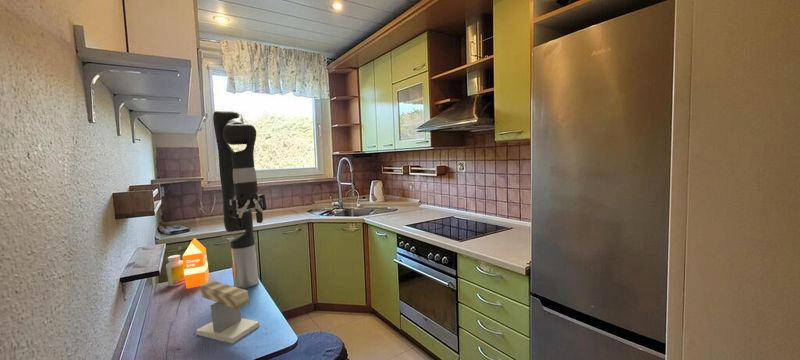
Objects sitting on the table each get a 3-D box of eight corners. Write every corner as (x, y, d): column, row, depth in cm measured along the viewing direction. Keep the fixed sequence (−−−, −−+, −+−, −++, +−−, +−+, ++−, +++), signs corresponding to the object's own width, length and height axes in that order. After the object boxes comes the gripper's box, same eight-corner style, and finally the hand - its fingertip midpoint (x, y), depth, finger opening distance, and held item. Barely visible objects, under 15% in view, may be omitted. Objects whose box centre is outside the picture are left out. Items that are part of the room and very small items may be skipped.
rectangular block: (249, 303, 99) (247, 290, 99) (236, 309, 96) (235, 296, 96) (214, 292, 110) (212, 280, 110) (201, 296, 107) (200, 285, 106)
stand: (196, 334, 102) (192, 304, 102) (225, 318, 111) (221, 290, 111) (232, 343, 96) (228, 311, 95) (259, 326, 105) (256, 296, 104)
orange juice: (186, 288, 142) (180, 243, 140) (190, 281, 150) (185, 239, 148) (206, 284, 144) (201, 240, 143) (209, 278, 153) (204, 236, 151)
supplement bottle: (189, 280, 151) (186, 254, 150) (177, 286, 145) (173, 258, 143) (178, 280, 152) (174, 253, 151) (164, 286, 146) (161, 258, 145)
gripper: (253, 179, 124) (258, 220, 125) (219, 183, 111) (225, 230, 112) (268, 178, 121) (273, 221, 122) (235, 182, 108) (240, 230, 109)
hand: (250, 225), depth 117 cm, fingers open, 8 cm apart
